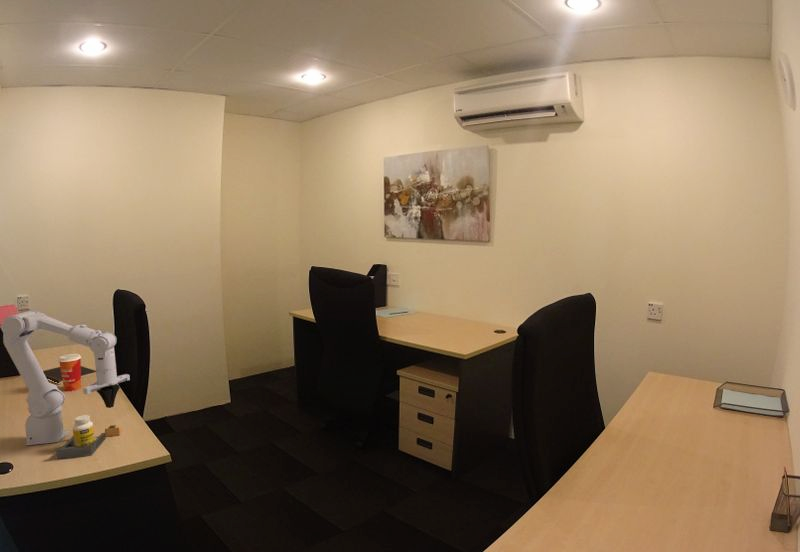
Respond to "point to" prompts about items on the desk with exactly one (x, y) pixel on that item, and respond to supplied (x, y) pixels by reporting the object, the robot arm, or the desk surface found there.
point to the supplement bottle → (83, 431)
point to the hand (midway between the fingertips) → (109, 406)
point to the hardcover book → (57, 376)
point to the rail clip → (79, 448)
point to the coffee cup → (71, 371)
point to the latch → (112, 430)
